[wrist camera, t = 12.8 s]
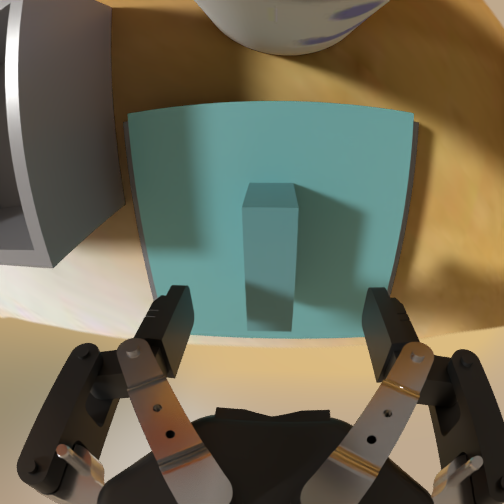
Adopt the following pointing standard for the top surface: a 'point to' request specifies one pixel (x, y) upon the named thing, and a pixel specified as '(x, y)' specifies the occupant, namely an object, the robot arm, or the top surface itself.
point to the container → (288, 22)
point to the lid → (272, 211)
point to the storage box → (55, 128)
